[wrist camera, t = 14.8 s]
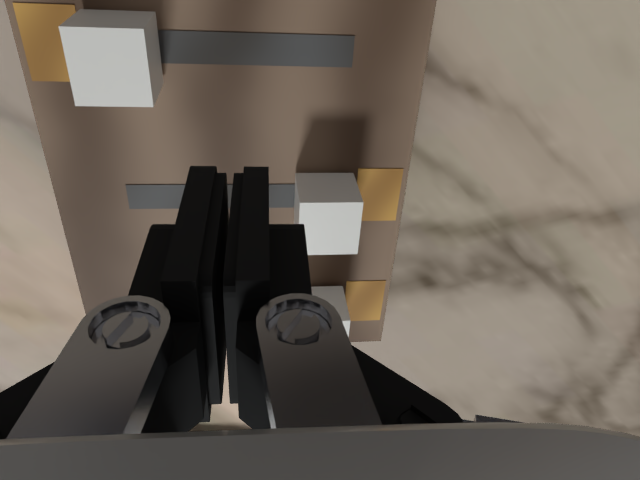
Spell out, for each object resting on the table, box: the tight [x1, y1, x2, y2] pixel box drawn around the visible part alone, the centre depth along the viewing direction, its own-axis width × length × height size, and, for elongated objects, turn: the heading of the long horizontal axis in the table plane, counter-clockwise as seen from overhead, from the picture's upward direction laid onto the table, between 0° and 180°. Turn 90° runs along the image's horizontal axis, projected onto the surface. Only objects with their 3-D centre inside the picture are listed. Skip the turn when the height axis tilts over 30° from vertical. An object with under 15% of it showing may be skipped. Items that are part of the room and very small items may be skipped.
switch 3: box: [311, 286, 350, 338], centre depth 31 cm, size 3×3×3 cm
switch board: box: [5, 0, 436, 342], centre depth 29 cm, size 18×22×3 cm
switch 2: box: [294, 173, 363, 255], centre depth 27 cm, size 3×3×3 cm
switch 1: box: [58, 9, 163, 107], centre depth 22 cm, size 3×3×3 cm
